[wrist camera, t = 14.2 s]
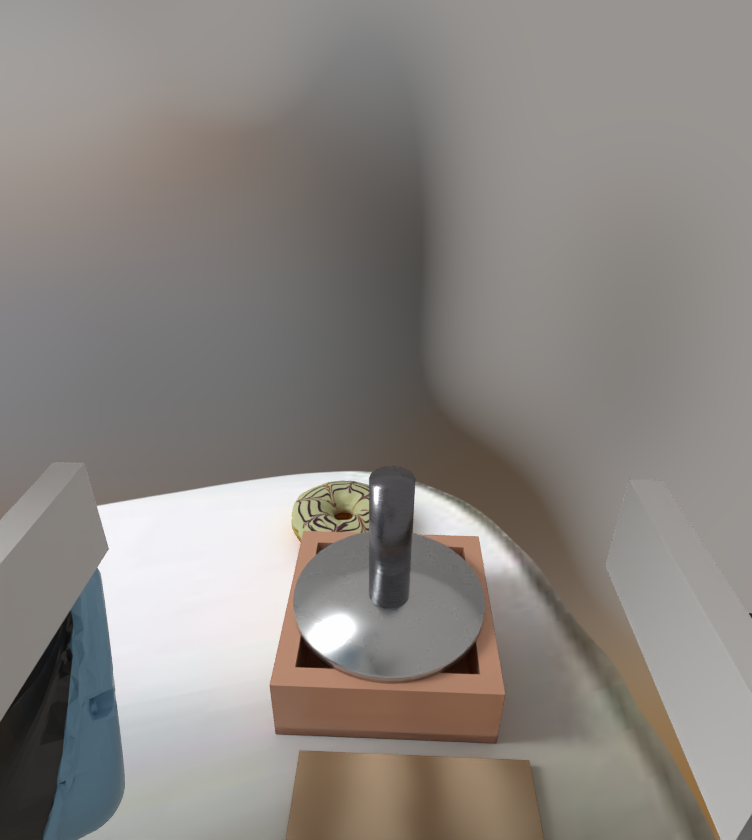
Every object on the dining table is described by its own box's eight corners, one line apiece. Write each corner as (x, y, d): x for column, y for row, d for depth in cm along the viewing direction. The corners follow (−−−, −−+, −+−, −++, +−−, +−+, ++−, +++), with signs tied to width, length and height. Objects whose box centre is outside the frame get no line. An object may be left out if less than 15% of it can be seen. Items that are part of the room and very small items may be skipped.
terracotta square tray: (275, 733, 43) (269, 685, 40) (306, 575, 57) (303, 530, 54) (496, 743, 43) (505, 694, 40) (473, 580, 56) (478, 536, 54)
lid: (277, 679, 41) (263, 549, 35) (308, 534, 54) (301, 422, 48) (496, 688, 40) (518, 558, 34) (473, 540, 53) (487, 427, 47)
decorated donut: (323, 584, 56) (321, 555, 54) (276, 522, 64) (273, 494, 62) (412, 544, 61) (414, 516, 59) (359, 491, 69) (359, 464, 67)
